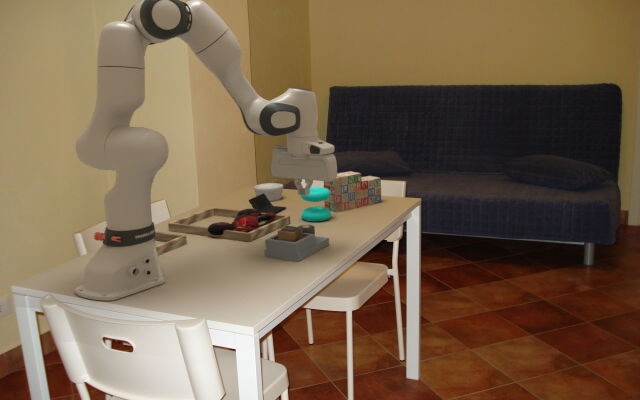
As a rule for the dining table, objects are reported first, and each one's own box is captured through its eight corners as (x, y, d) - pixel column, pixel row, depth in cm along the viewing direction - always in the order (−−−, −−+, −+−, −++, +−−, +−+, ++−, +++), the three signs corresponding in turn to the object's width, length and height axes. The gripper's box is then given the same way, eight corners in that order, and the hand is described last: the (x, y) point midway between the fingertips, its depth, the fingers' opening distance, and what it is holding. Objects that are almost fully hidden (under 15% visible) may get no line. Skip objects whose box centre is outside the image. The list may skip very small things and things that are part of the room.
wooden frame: (151, 258, 184) (150, 249, 184) (103, 250, 193) (102, 241, 193) (186, 243, 197) (186, 235, 196) (140, 236, 206) (139, 229, 205)
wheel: (309, 238, 186) (308, 229, 186) (294, 236, 189) (293, 227, 188) (318, 234, 190) (317, 225, 190) (303, 232, 193) (303, 223, 192)
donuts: (333, 191, 214) (304, 194, 212) (334, 220, 217) (305, 223, 214) (325, 185, 224) (297, 188, 221) (326, 213, 226) (298, 216, 224)
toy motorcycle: (204, 240, 203) (248, 236, 196) (201, 224, 202) (244, 219, 195) (246, 222, 225) (287, 218, 218) (243, 208, 224) (284, 203, 217)
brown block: (293, 250, 179) (292, 230, 178) (278, 248, 182) (277, 228, 181) (303, 245, 184) (302, 226, 182) (288, 243, 186) (287, 224, 185)
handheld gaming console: (277, 212, 225) (261, 188, 226) (262, 224, 227) (245, 201, 228) (288, 208, 236) (272, 186, 237) (273, 220, 238) (257, 198, 239)
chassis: (298, 261, 176) (297, 243, 175) (264, 256, 182) (263, 239, 180) (329, 244, 190) (328, 228, 189) (297, 240, 196) (296, 224, 195)
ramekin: (253, 197, 256) (252, 184, 255) (281, 195, 258) (281, 181, 257) (256, 203, 246) (255, 189, 244) (285, 201, 248) (284, 187, 246)
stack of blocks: (370, 199, 245) (370, 167, 242) (381, 202, 240) (381, 169, 237) (324, 209, 233) (323, 175, 230) (334, 212, 228) (333, 177, 225)
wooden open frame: (249, 241, 196) (248, 233, 196) (168, 230, 212) (168, 223, 211) (290, 223, 215) (289, 215, 215) (213, 214, 231) (213, 207, 231)
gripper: (265, 145, 186) (267, 193, 189) (328, 149, 176) (329, 199, 178) (278, 143, 191) (279, 189, 194) (339, 146, 181) (340, 195, 184)
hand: (303, 194), depth 186 cm, fingers closed
